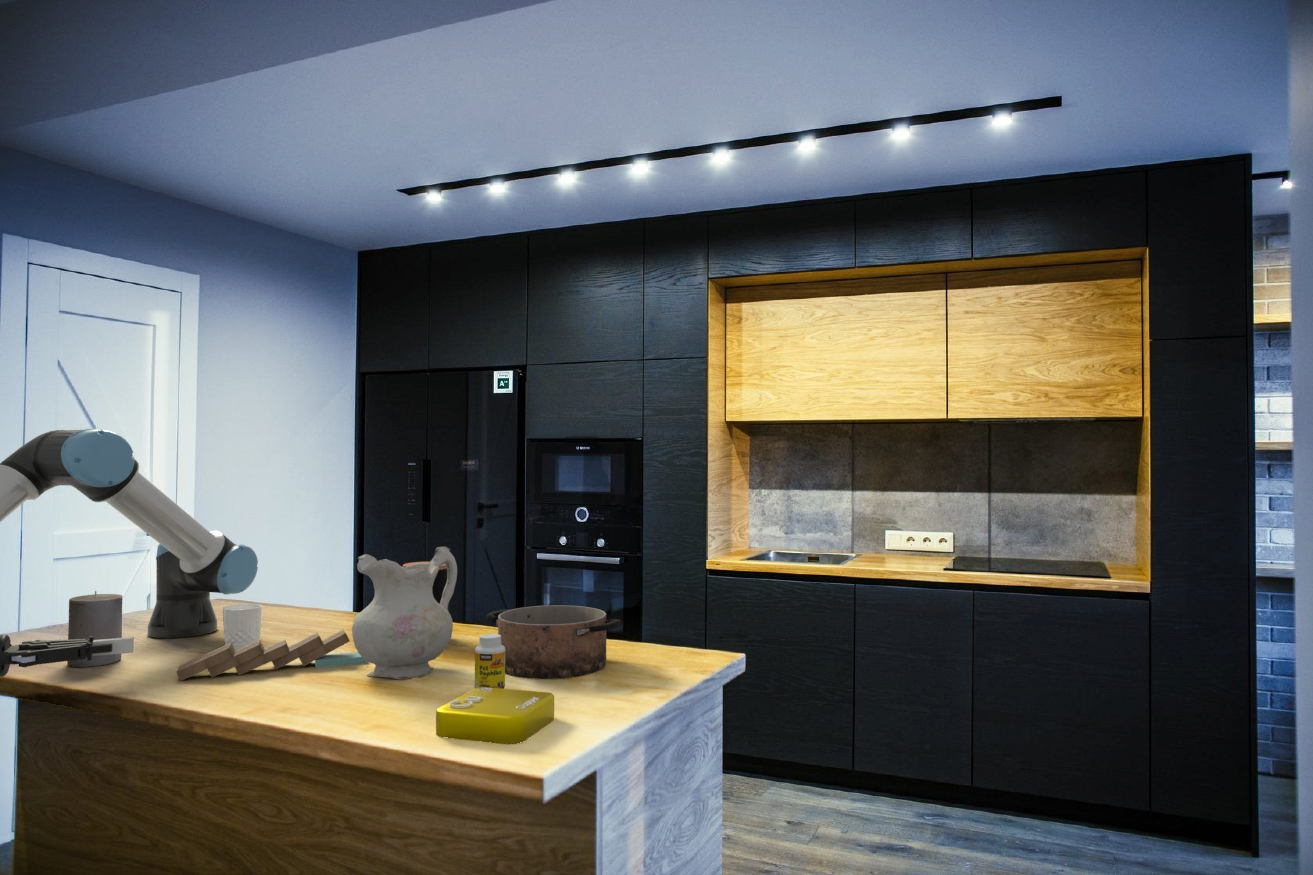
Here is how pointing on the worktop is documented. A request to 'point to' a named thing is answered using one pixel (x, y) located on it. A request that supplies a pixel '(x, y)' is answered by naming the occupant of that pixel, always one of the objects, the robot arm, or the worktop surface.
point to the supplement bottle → (490, 662)
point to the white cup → (242, 624)
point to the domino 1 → (205, 661)
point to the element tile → (495, 715)
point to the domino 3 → (264, 657)
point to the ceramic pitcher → (404, 616)
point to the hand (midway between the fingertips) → (133, 644)
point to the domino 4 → (299, 650)
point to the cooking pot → (553, 640)
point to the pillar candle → (95, 623)
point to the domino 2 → (238, 658)
